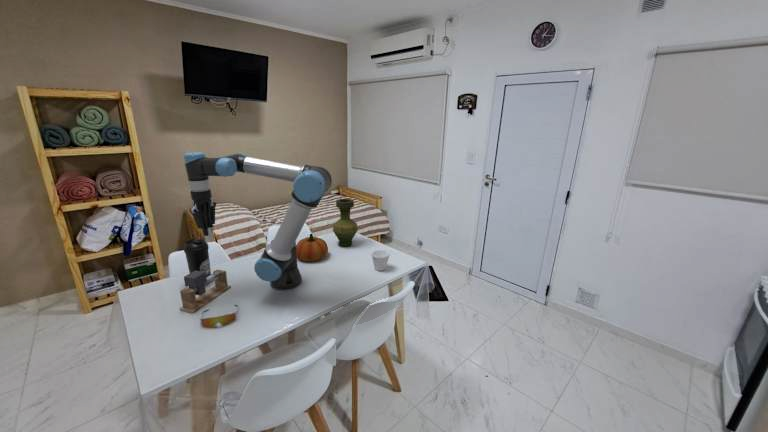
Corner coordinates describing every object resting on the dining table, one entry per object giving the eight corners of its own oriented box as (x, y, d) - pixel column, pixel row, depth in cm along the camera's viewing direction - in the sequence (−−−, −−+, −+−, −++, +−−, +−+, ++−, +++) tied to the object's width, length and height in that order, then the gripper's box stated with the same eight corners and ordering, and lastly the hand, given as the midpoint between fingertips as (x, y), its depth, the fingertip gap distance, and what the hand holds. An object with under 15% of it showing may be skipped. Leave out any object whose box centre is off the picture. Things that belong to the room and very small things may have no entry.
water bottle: (203, 289, 148) (196, 244, 141) (185, 286, 150) (176, 242, 143) (218, 279, 158) (212, 237, 151) (200, 276, 160) (193, 234, 153)
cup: (368, 270, 171) (368, 255, 168) (375, 263, 180) (375, 248, 177) (385, 274, 167) (385, 258, 165) (391, 266, 176) (392, 251, 173)
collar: (198, 288, 139) (195, 270, 136) (208, 290, 138) (205, 272, 135) (187, 295, 133) (183, 276, 131) (197, 297, 132) (194, 278, 129)
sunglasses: (197, 332, 119) (196, 320, 119) (204, 315, 133) (202, 304, 132) (238, 324, 124) (237, 313, 124) (240, 308, 138) (239, 298, 137)
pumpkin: (313, 248, 199) (312, 225, 194) (334, 256, 188) (334, 232, 183) (288, 258, 184) (286, 234, 179) (310, 267, 173) (309, 242, 168)
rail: (218, 285, 152) (216, 268, 149) (231, 287, 150) (228, 270, 148) (180, 310, 132) (176, 291, 129) (193, 313, 130) (190, 294, 127)
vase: (329, 248, 198) (328, 203, 189) (337, 239, 214) (336, 197, 205) (354, 250, 196) (354, 205, 187) (360, 241, 211) (360, 198, 202)
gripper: (204, 186, 138) (212, 235, 145) (180, 192, 126) (190, 246, 133) (218, 186, 136) (226, 237, 143) (196, 193, 124) (206, 248, 131)
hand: (209, 241), depth 138 cm, fingers closed
